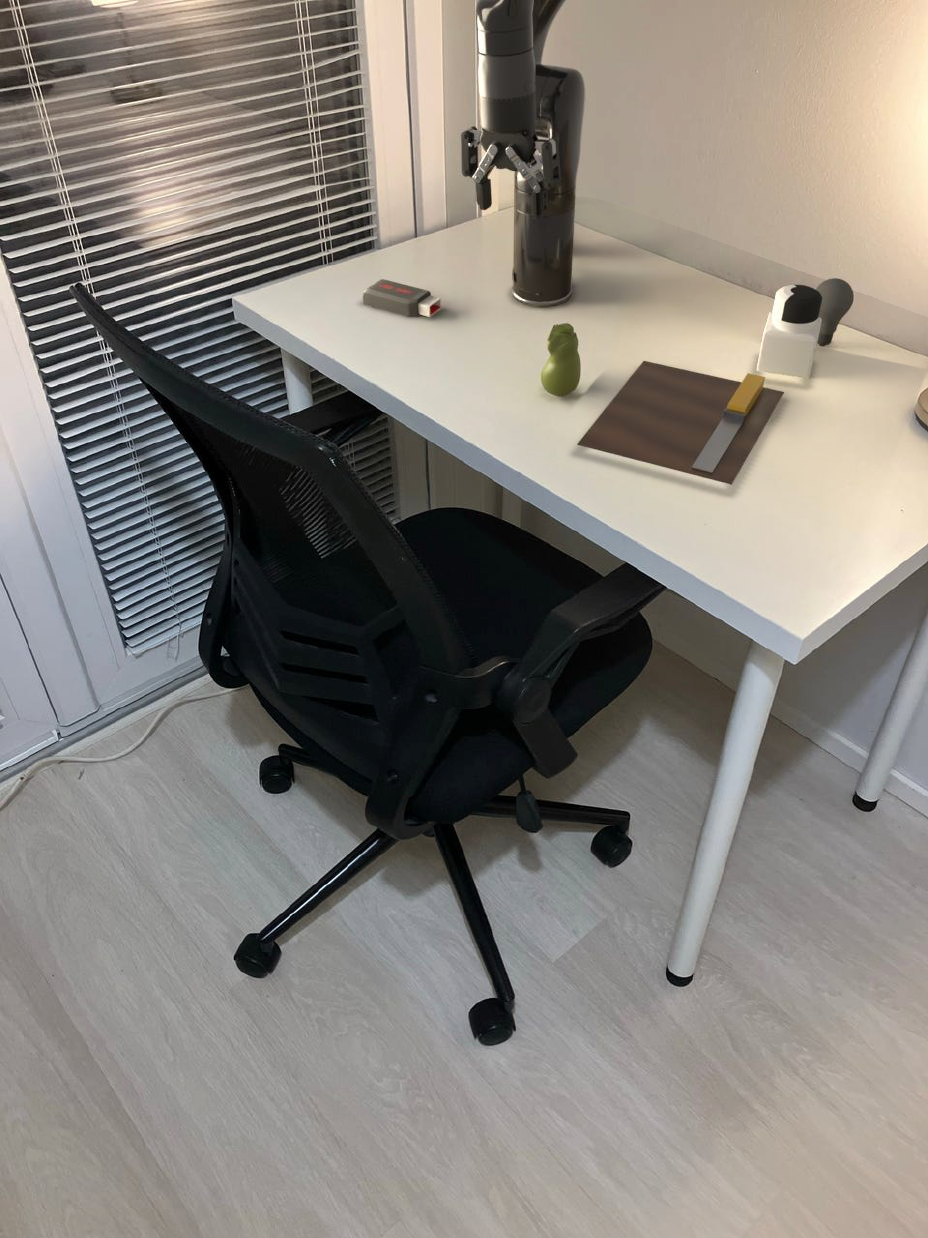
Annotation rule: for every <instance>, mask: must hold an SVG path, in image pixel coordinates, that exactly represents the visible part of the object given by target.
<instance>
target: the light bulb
mask: <svg viewBox="0 0 928 1238" xmlns="http://www.w3.org/2000/svg"><path fill="white" fill-rule="evenodd" d="M815 289H816V290H817V291H819V292H820V294H821V296H822V303H821V307H820V312H819V316H818V317H820V318H821V319H822V322H821V327H820V332H819V336H818V341H817V345H818V346H820V347H826V346H829V345H830V344H831V343H832V340H833V338H834V334H835V333H836V331H837V329H838V326H839V324H840V321H842V319H843V318H844V317H845V316H846V315H847V313H848V312H849V311H850V310H851V308H852V306H853V304H854V297H855V296H854V291H853V289H852V286H851V285H850V283H848V282H847V281H846V280H844V279H842V278H837V277H833V278H828V279H825V280H824V281H822V282H821V283H819V284H818V285H817V286H816V288H815Z"/></svg>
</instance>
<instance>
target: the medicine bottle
mask: <svg viewBox="0 0 928 1238" xmlns="http://www.w3.org/2000/svg"><path fill="white" fill-rule="evenodd" d="M821 303H822V296H821V294H820V292H819V291H817V290H816V288H814V287H812V286H808V285H804V284H789V285H785V286H783V287H781V288H779V289H778V290H777V291H776V292H775V297H774V303H773V307H772V310H771V311H769V313H768V316H767V320H766V324H765V326H764V330H763V333H762V337H761V338H762V339H761V344H760V349H759V354H758V359H757V365H756V371H757V372H761V373H766V374H775V375H781V376H788V377H795V378H796V377H797V378H802V379H809V378H810V377H811V374H812V368H813V364H814V359H815V356H816V355H815V354H816V349H817V345H818V344H817V341H818V336H819V332H820V327H821V322H822V319H821V318H820V317H818V316H819V312H820V307H821Z"/></svg>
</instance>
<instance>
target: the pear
mask: <svg viewBox="0 0 928 1238" xmlns="http://www.w3.org/2000/svg"><path fill="white" fill-rule="evenodd" d="M546 339H547V341H546V342H547V343H546V348H547V351H548V353H549V357H548V359H547V361H546V362H545V364H544V366H543V368H542V370H541V373H540V381H541V385H542V387H543V389H544V390H545V392H547V393H548V394H550V395H552V396H554V397H555V396H556V397H566V396H568V395H571V394H572V393H574V392H575V390H576V389H577V388H578V386H579V383H580V379H581V371H582V370H581V367H582V366H581V357H580V354H579V339H578V335H577V332H575V329H574V326H572V324H571V323H568V322H565V323H559V324H557V323H556V324H553V326H552V328H551V330H550V332H549V334H548V336H547V338H546Z"/></svg>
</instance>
